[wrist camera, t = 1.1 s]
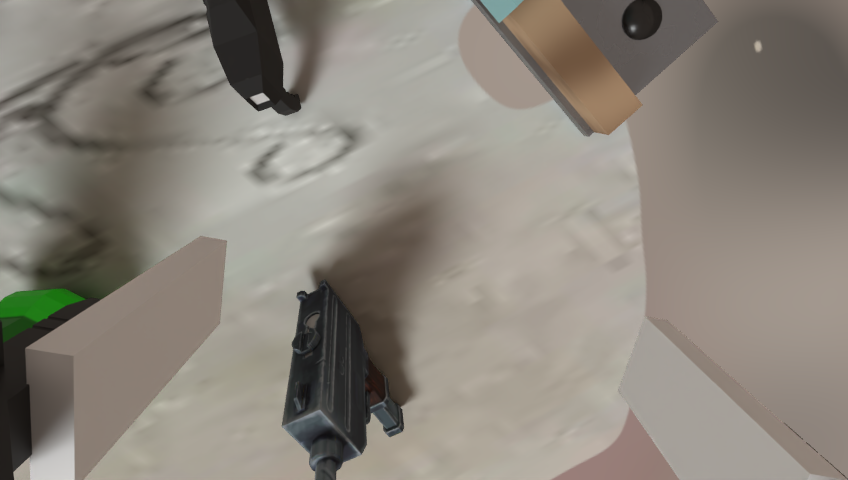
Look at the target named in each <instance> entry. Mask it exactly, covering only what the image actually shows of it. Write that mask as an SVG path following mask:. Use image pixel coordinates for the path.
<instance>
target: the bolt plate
mask: <svg viewBox="0 0 848 480" xmlns="http://www.w3.org/2000/svg"><path fill="white" fill-rule="evenodd" d="M561 1H562V2H563V4H564V5H565V6H566V8H567V9H568V10H569V11H570V13H571V14H572V15H573V16H574V18H575V19H576V20H577V22H578V23H579V24H580V25H581V27H582V28H583V29H584V31H585V32H586V33H587V34H588V36H589V37H590V38H591V40H592V41H593V42H594V43H595V45H596V46H597V47H598V48H599V50H600V51H601V52H602V54H603V55H604V56H605V57H606V59H607V60H608V61H609V63H610V64H611V65H612V66H613V68H614V69H615V70H616V72H617V73H618V74H619V75H620V77H621V78H622V79H623V80H624V82H625V83H626V84H627V86H628V87H629V88H630V89H631V91H632V92H633V93H634V95H636V94H637V93H638V92H640V91H641V90H642V89H643V88H644V87H645V86H646V85H647V84H648V83H650V82H651V81H652V80H653V79H654V78H655V77H656V76H658V75H659V74H660V73H661V72H662V71H663V70H664V69H665V68H666V67H668V66H669V65H670V64H671V63H672V62H673V61H674V60H676V58H678V57H679V56H680V55H681V54H682V53H683V52H685V50H687V49H688V48H689V47H690V46H691V45H692V44H694V43H695V42H696V41H697V40H698V39H699V38H700V37H701V36H703V34H705V33H706V32H707V31H708V30H709V29H710V28H711V27H713V26H714V25H715V24H716V23H717V22H718V21H717V19H716V18H715V17H714V15H713V14H712V12H711V11H710V10H709V8H708V7H707V5H706V4H705V3H704V1H703V0H561ZM472 2H473V3H474V4H475V5H476V6H477V8H478V9H479V10H480V11H481V12H482V14H483V15H484V16H485V17H486V18H487V20H488V21H489V22H490V23H491V25H492V26H493V27H494V28H495V29H496V31H497V32H498V33H499V34H500V35H501V37H502V38H503V39H504V40H505V41H506V43H507V44H508V45H509V46H510V47H511V49H512V50H513V51H514V52H515V53H516V54H517V56H518V57H519V58H520V59H521V60H522V62H523V63H524V64H525V65H526V67H527V68H528V69H529V70H530V71H531V73H532V74H533V75H534V76H535V77H536V78H537V80H538V81H539V82H540V83H541V84H542V86H543V87H544V88H545V89H546V91H547V92H548V93H549V94H550V95H551V97H552V98H553V99H554V100H555V101H556V103H557V104H558V105H559V106H560V107H561V109H562V110H563V111H564V112H565V113H566V115H567V116H568V117H569V118H570V119H571V121H572V122H573V123H574V124H575V126H576V127H577V128H578V129H579V130H580V132H581V133H582V134H583V135H584V136H590V135H591V134H592V133H593V132H594V131H593V130H592V129H591V128H590V127H589V125H588V124H587V123H586V122H585V121H584V119H583V118H582V117H581V116H580V114H579V113H578V112H577V111H576V110H575V108H574V107H573V106H572V105H571V104H570V102H569V101H568V100H567V99H566V97H565V96H564V95H563V94H562V93H561V91H560V90H559V89H558V88H557V87H556V85H555V84H554V83H553V82H552V80H551V79H550V78H549V77H548V76H547V74H546V73H545V72H544V71H543V70H542V68H541V67H540V66H539V65H538V63H537V62H536V61H535V60H534V59H533V57H532V56H531V55H530V54H529V53H528V51H527V50H526V49H525V48H524V47H523V45H522V44H521V43H520V42H519V40H518V39H517V38H516V37H515V36H514V34H513V33H512V32H511V31H510V30H509V28H508V27H507V26H506V25H505V23H504V22H503V21H501V22H500V23H498V21H497V20H496V19H495V18H494V17H493V15H492V14H491V13H490V12H489V10H488V9H487V8H486V7H485V6H484V4H483V3H482V2H481V1H480V0H472Z"/></svg>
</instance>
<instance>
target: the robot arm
mask: <svg viewBox="0 0 848 480" xmlns="http://www.w3.org/2000/svg"><path fill="white" fill-rule="evenodd" d="M226 245H227V241H225V240H220V239H214V238H209V237H203V236H200V237H199V238H197V239H195V240H194V241H192V242H191V243H189V244H188V245H186V246H184V247H183V248H181V249H180V250H178V251H177V252H175V253H173V254H172V255H170V256H169V257H167V258H166V259H164V260H163V261H161V262H159V263H158V264H156V265H155V266H153V267H152V268H150V269H148V270H147V271H145V272H144V273H142V274H141V275H139V276H137V277H136V278H134V279H133V280H131V281H130V282H128V283H127V284H125V285H123V286H122V287H120V288H119V289H117V290H116V291H114V292H112V293H111V294H109V295H108V296H106V297H105V298H103V299H96V298H89V299H85V300H82V301H79V302H76V303H72V304H69V305H66V306H64V307H63V308H61V309H59V310H58V311H56V312H54V313H53V314H51V315H49V316H48V318H47V319H45V318H44V319H43V320H41V321H39V322H37V323H36V324H34V325H33V326H32V328H27V329H26V330H24V331H22V332H21V333H19V334H17V335H15V336H14V337H12V338H10V339H9V340H7V341H5V342H4V343H3V330H2V321H1V320H0V480H14V475H13V472H14V471H15V470H16V469H17V468H18V467H19V466H20V465H21V464H22V463H23V462H24V461H25V460H27V459H28V458H29V457H30V477H31V480H83V479H84V478H85V477H86V476H87V475H88V474H89V473H90V471H91V470H92V469H93V468H94V467H95V466H96V465H97V463H98V462H99V461H100V460H101V459H102V458H103V457H104V455H105V454H106V453H107V452H108V451H109V450H110V448H111V447H112V446H113V445H114V444H115V443H116V442H117V440H118V439H119V438H120V437H121V436H122V435H123V434H124V432H125V431H126V430H127V429H128V428H129V427H130V426H131V424H132V423H133V422H134V421H135V420H136V419H137V418H138V416H139V415H140V414H141V413H142V412H143V411H144V410H145V408H146V407H147V406H148V405H149V404H150V403H151V402H152V400H153V399H154V398H155V397H156V396H157V395H158V394H159V392H160V391H161V390H162V389H163V388H164V387H165V386H166V384H167V383H168V382H169V381H170V380H171V379H172V377H173V376H174V375H175V374H176V373H177V372H178V371H179V369H180V368H181V367H182V366H183V365H184V364H185V363H186V361H187V360H188V359H189V358H190V357H191V356H192V355H193V353H194V352H195V351H196V350H197V349H198V348H199V347H200V345H201V344H202V343H203V342H204V341H205V340H206V339H207V337H208V336H209V335H210V334H211V333H212V332H213V331H214V329H215V328H216V327H217V326H218V325H219V324H220V315H221V303H222V291H223V280H224V268H225V256H226ZM618 391H619V393H620V394H621V395H622V397H623V398H624V400H625V401H626V403H627V404H628V406H629V407H630V409H631V410H632V411H633V413H634V414H635V416H636V417H637V419H638V420H639V421H640V423H641V424H642V426H643V427H644V429H645V430H646V432H647V433H648V435H649V436H650V437H651V439H652V440H653V442H654V443H655V445H656V446H657V448H658V449H659V450H660V452H661V453H662V455H663V456H664V458H665V459H666V461H667V462H668V464H669V465H670V466H671V468H672V469H673V471H674V472H675V474H676V475H677V477H678V478H679V479H680V480H848V479H847V478H846V477H845V476H844V475H843V474H842V473H841V472H840V471H838V470H837V469H836V468H835V467H834V466H833V465H832V464H830V463H829V462H828V461H827V460H826V459H825V458H824V457H822V456H821V455H819V454H818V452H817V451H816V450H815V449H814V448H812V447H811V446H810V445H809V444H808V443H807V442H805V441H803V439H802V438H801V437H800V436H799V435H798V434H796V433H795V432H794V431H793V430H792V429H791V428H790V427H788V426H787V425H786V424H785V423H783V422H782V421H781V420H780V419H779V418H777V417H776V416H775V415H774V414H773V413H772V412H771V411H770V410H768V409H767V408H766V407H765V406H764V405H763V404H761V403H760V402H759V401H758V400H757V399H756V398H755V397H754V396H753V395H751V394H750V393H749V392H748V391H747V390H746V389H745V388H744V387H742V386H741V385H740V384H739V383H738V382H737V381H736V380H735V379H733V378H732V377H731V376H730V375H729V374H728V373H727V372H725V371H724V370H723V369H722V368H721V367H720V366H719V365H718V364H716V363H715V362H714V361H713V360H712V359H711V358H710V357H708V356H707V355H706V354H705V353H704V352H703V351H702V350H701V349H699V348H698V347H697V346H696V345H695V344H694V343H693V342H691V341H690V340H689V339H688V338H687V337H686V336H685V335H684V334H682V333H681V332H680V331H679V330H678V329H677V328H676V327H675V326H673V325H672V324H671V323H670V322H669V321H668V320H663V319H658V318H652V317H647V316H645V317H644V319H643V322H642V325H641V328H640V331H639V333H638V336H637V339H636V342H635V344H634V347H633V350H632V353H631V356H630V358H629V361H628V364H627V367H626V370H625V372H624V375H623V378H622V381H621V383H620V386H619V389H618Z"/></svg>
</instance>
